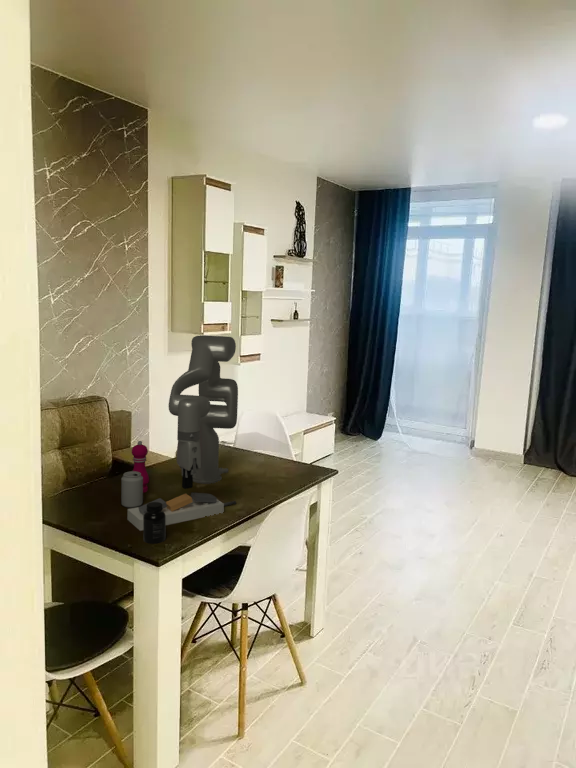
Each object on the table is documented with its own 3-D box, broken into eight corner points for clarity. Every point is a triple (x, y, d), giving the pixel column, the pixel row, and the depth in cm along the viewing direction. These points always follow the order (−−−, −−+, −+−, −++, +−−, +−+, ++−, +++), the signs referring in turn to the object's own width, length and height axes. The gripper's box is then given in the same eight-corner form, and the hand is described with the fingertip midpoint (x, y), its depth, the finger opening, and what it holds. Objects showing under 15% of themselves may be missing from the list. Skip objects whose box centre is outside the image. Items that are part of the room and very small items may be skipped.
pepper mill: (125, 491, 230) (125, 441, 227) (138, 486, 237) (138, 437, 234) (140, 495, 227) (140, 444, 224) (152, 490, 234) (153, 440, 230)
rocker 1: (161, 502, 204) (160, 497, 204) (167, 506, 201) (165, 502, 200) (139, 512, 200) (138, 507, 200) (144, 516, 196) (143, 511, 196)
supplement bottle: (167, 537, 192) (168, 501, 190) (162, 546, 185) (163, 509, 183) (146, 535, 192) (146, 499, 190) (140, 544, 185) (140, 507, 183)
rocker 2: (186, 497, 210) (185, 493, 209) (192, 502, 206) (191, 497, 206) (165, 507, 206) (164, 502, 205) (171, 511, 202) (170, 506, 201)
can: (145, 507, 216) (145, 475, 214) (124, 510, 212) (124, 477, 210) (139, 500, 222) (139, 469, 220) (119, 503, 218) (119, 471, 216)
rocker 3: (209, 498, 215) (210, 493, 215) (215, 502, 212) (217, 497, 212) (190, 497, 211) (191, 492, 211) (196, 501, 207) (197, 496, 207)
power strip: (227, 500, 226) (228, 489, 225) (242, 510, 217) (243, 498, 216) (127, 520, 203) (127, 507, 202) (139, 531, 194) (140, 518, 194)
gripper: (208, 439, 200) (207, 492, 203) (188, 430, 212) (187, 480, 214) (188, 441, 196) (187, 495, 198) (169, 432, 207) (168, 483, 210)
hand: (187, 487), depth 206 cm, fingers closed
